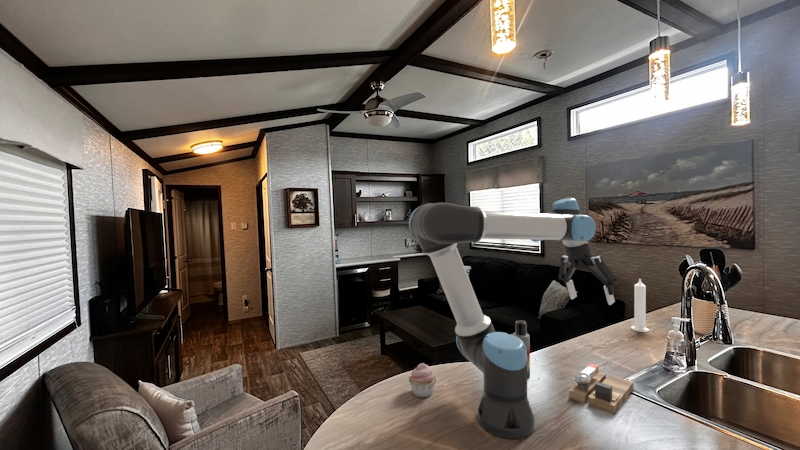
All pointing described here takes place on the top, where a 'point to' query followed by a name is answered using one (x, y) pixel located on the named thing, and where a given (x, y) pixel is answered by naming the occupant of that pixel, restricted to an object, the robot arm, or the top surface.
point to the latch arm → (586, 374)
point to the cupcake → (422, 381)
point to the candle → (640, 308)
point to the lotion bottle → (523, 339)
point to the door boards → (603, 392)
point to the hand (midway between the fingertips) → (591, 300)
